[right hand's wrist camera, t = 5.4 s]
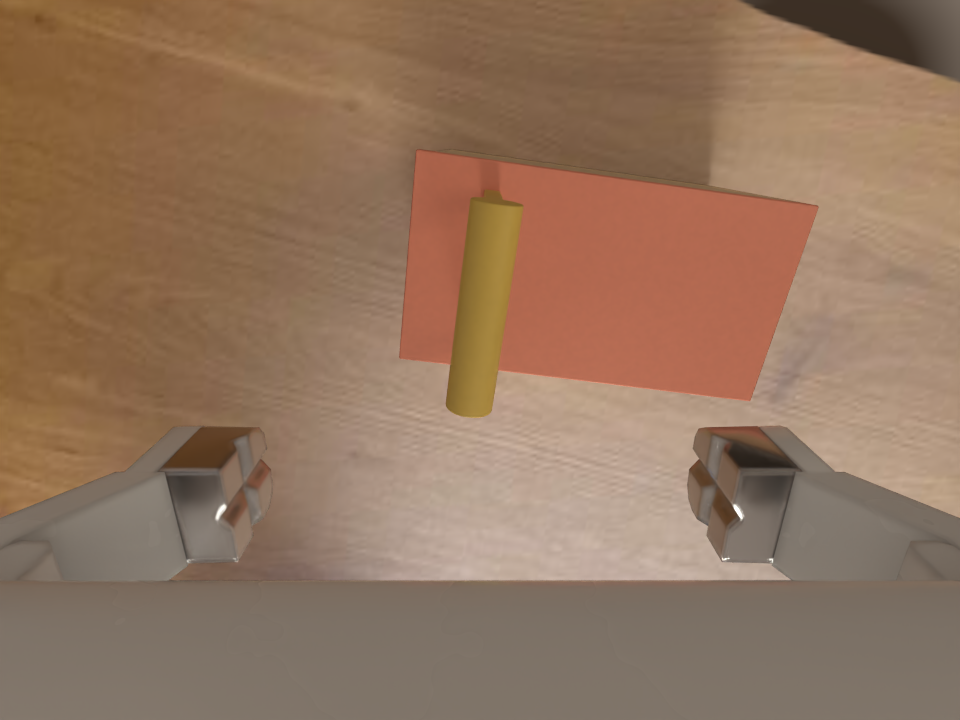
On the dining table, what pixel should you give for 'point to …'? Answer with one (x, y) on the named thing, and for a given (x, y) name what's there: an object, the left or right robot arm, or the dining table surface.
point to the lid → (592, 279)
